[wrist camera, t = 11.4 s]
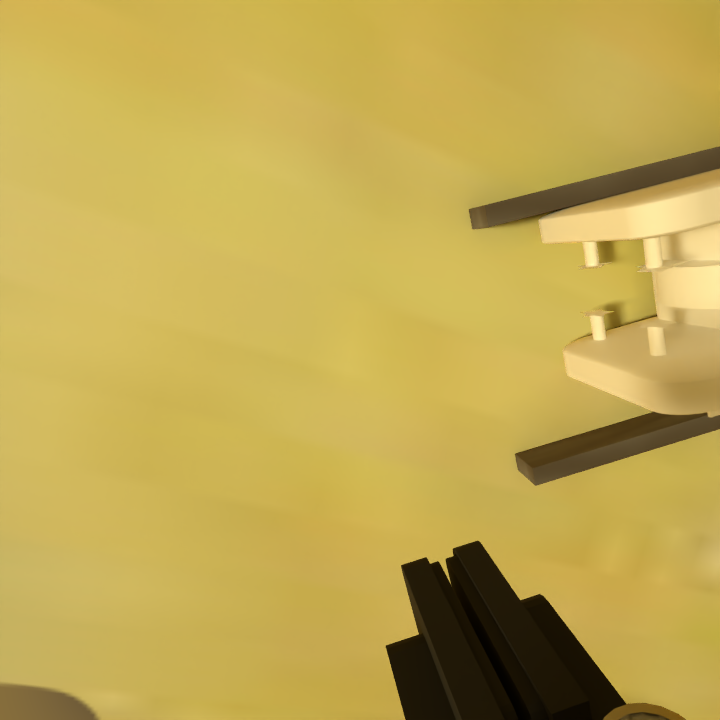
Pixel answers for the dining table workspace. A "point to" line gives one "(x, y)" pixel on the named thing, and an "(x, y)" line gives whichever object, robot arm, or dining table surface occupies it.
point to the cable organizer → (672, 295)
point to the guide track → (633, 432)
